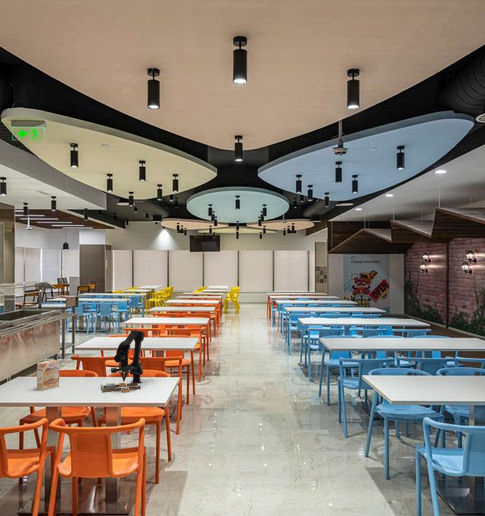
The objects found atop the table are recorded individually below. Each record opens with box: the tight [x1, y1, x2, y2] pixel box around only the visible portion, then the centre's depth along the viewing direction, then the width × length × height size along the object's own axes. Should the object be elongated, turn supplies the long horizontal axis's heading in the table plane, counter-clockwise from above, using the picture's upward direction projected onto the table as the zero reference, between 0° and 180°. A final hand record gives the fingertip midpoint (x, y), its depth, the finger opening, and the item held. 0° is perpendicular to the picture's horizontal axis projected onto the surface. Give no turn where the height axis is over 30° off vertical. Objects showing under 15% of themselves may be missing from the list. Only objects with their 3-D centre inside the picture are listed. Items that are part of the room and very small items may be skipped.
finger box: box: [100, 383, 141, 394], centre depth 356 cm, size 13×27×3 cm, turn 112°
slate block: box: [105, 382, 116, 389], centre depth 353 cm, size 6×6×4 cm
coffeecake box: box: [36, 359, 60, 391], centre depth 358 cm, size 15×7×20 cm, turn 153°
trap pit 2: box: [121, 387, 131, 393], centre depth 349 cm, size 5×5×2 cm
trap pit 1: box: [118, 382, 127, 388], centre depth 365 cm, size 5×5×2 cm
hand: (123, 381), depth 357 cm, fingers closed
